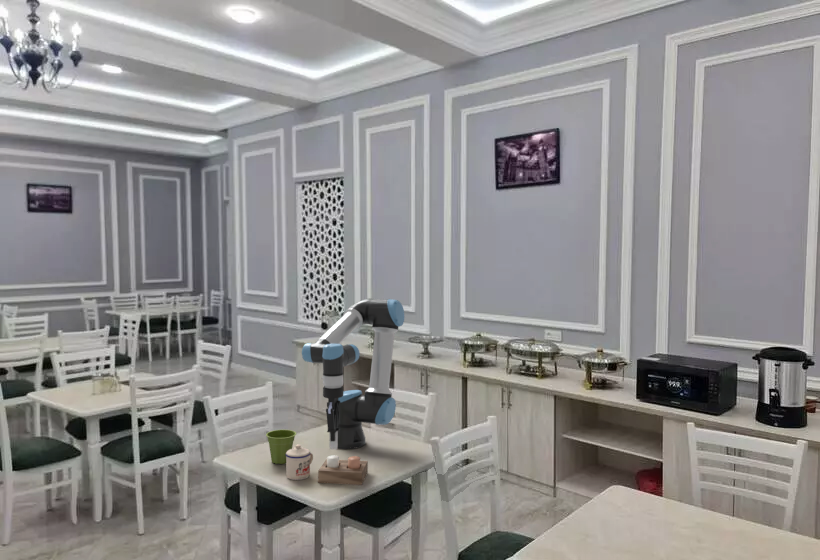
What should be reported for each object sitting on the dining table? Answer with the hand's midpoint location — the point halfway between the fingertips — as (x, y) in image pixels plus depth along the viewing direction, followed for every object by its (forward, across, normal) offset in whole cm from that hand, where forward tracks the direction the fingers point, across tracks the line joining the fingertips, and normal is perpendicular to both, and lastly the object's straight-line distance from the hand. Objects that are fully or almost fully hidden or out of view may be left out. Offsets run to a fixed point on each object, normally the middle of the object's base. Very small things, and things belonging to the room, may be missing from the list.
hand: (333, 448), depth 214 cm
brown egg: (+9, +1, +8) cm, 12 cm away
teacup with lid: (+11, 0, -13) cm, 17 cm away
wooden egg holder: (+11, +1, +4) cm, 11 cm away
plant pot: (+11, -13, -25) cm, 30 cm away
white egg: (+9, +1, 0) cm, 9 cm away
